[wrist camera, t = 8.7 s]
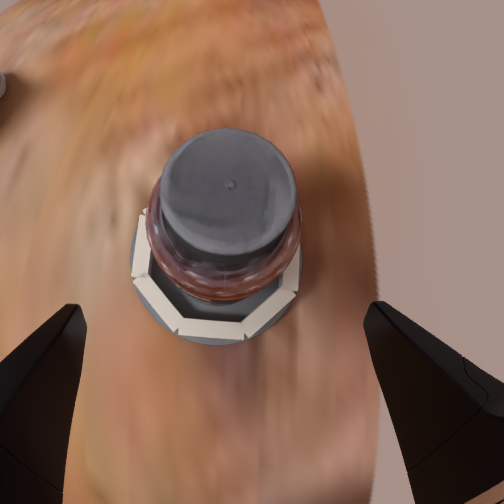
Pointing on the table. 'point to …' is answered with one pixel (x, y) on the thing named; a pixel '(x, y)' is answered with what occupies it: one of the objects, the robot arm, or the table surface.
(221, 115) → the table surface
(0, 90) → the ceramic mug
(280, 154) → the supplement bottle
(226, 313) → the ring seat
